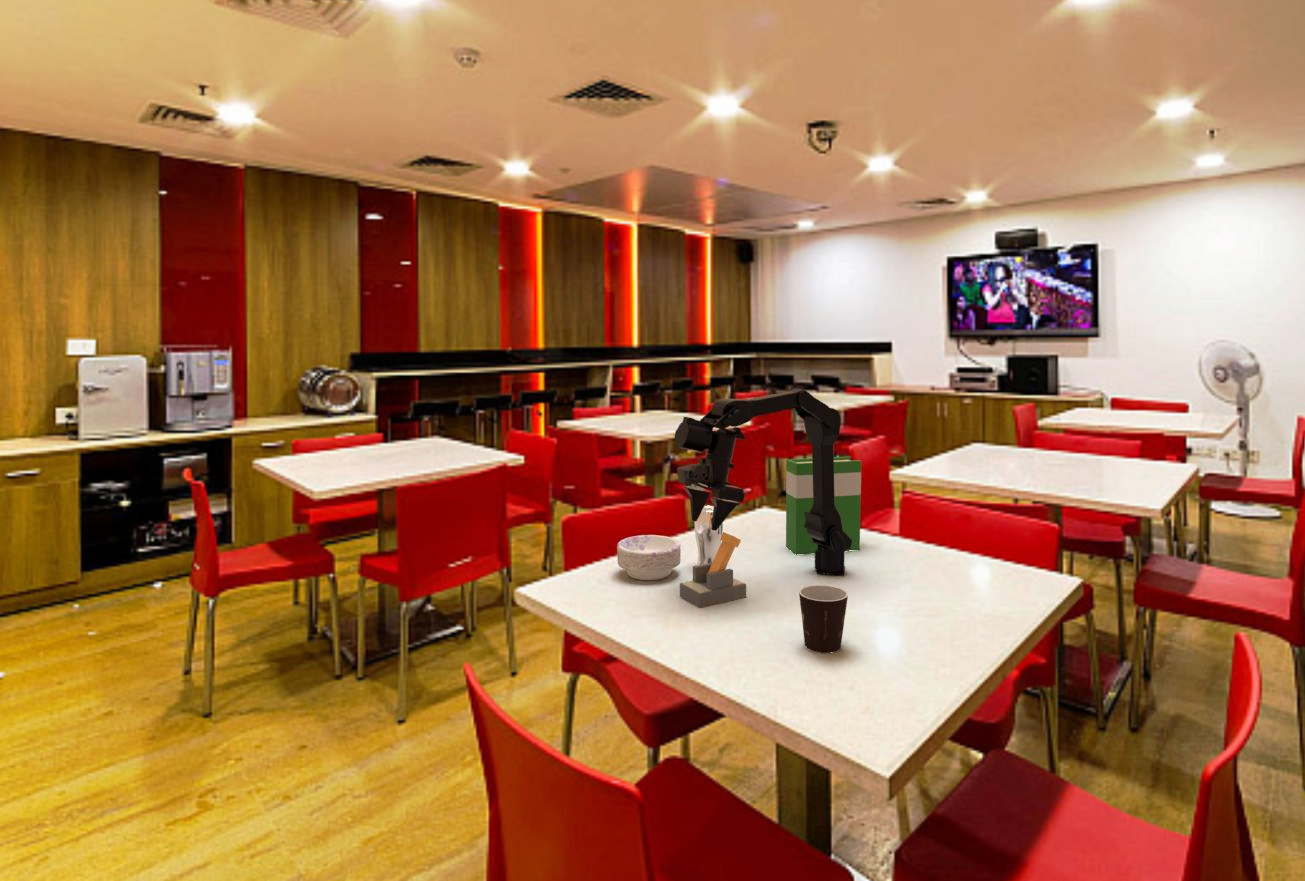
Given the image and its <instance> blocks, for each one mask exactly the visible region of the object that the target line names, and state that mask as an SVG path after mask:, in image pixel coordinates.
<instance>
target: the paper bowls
mask: <svg viewBox="0 0 1305 881" xmlns="http://www.w3.org/2000/svg"><path fill="white" fill-rule="evenodd" d="M616 550H617V551H616V552H617V557H616V558H617V565H618V566H619V567H620V568H621V569H624V570H625V571H626V573H627V575H628V576H629V577H631V578H632V579H635V580H640V581H656V580H657V581H658V580H661V579H665V578H667V577H668V576H670V574H671V573H672V571H673V569H674V568H677V567H678V566H679V565H680V564H681V560H682V559H681V550H682V549H681V543H680V541H679V540H678V539H676V538H673V537H670V536H666V535H656V534H646V535H645V534H641V535H635V536H629V537H626V538H624V539H621V540H620V541H619V542H618V543H617V545H616Z"/></svg>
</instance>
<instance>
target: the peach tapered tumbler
mask: <svg viewBox="0 0 1305 881" xmlns="http://www.w3.org/2000/svg"><path fill="white" fill-rule="evenodd" d="M713 509H714V505H705V506H704V508H703V510H702V512H701V514H700V516H699V518H698V519H697V521H694V535H695V541H696V547H697V554H698V557H697V561H696V562H697V564H696V566H698V565H703V564H708V563H713V560H714V558H715V556H716V554H717V551H718V549H719V547H720V545H721V542H722V540H720V538H721V536H722V534H723V532H724V522H723V523H722V524H721V525H720V526H719V528H718V529H717V530H716V531H715V530H712V529H711V527H712V517H713Z"/></svg>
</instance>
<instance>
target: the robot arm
mask: <svg viewBox="0 0 1305 881" xmlns="http://www.w3.org/2000/svg"><path fill="white" fill-rule="evenodd" d="M788 410H793V411H794V412H795V414H796V415H797V416H798V417H799V418H800V419H801V420H803V423H804V431H805V434H806V436H807V438H808V439H809V442H810V444H811V452H812V453H811V454H812V456H811V457H812V463H813V506H812V508H811V510H810V512H805V514H804V515H805V526H804V528H806V529H807V533H808V534H809V535H810V536H811V539H812V542H813V543H815V544H818V547H817V550H815V554H814V569H815V570H816V574H817V575H829V576H830V575H832V576H845V573H846V572H845V571H846V566H845V555H846V552H845V550H848V549H850V548H851V544H852V540H851V539H850V538H849V537H848V536H847V534H846V533H845V532H844V531H843V527H842V521H841V517H840V515H839V513H838V511H837V509H836V507H835V496H834V457H835V453H834V452H835V451H834V450H835V449H834V445H835V443H836V441H837V439H838V437H839V436H840V432H841V423H842V418H841V417H842V416H841V413H840V412H839V411H838V410H837V409H836V408H834V407H833V408H832V407H830V406H829V405H828V404H826V403H824V402H823V401H821V400H819V399H818V398H816V397H814V396H813V395H812V394H811V393H810V392H808V391H807V390H805V389H798V388H795V389H793V388H792V389H790V390H788V391H783V392H778V393H773V394H768V395H763V396H757V397H752V398H719V399H716V400H715V401H714V402H713V405H712V406H711V409H710V410H709V411H708V412H707V413H706V414H705V415H704V416H703V417H702V418H700V420H698V419H695V418H693V417H688V416H683V418H682V422H680V424H678V427H677V429H676V430H675V433H674V443H675V446H676V448H679V449H684V450H688V451H694V452H697V453H699V452H700V453H703V452H705V456H701V457H700V458H699V462H698V463H693V464H687V465H682V466H679V467H677V468H676V469H677V472H676V473H677V478H678V483H680V485H683V487H682V488H683V489H684V490H685V491H686V494H688V496H689V503H690V505H689V506H690V514H691V522H695V521H697V519H698V518H699V516H700V514H701V512H702V510H703V508H704V506H706V504H707V501H708V499H709V498H710V501H711V502H712V504H713V505H712V506H714V509H713V517H712V527H711V529H712V530H715V531H716V530H717V529H718V528H719V526H720V525H721V524H722V523H723V524H724V521H725V520H726V519H727V518H728V516H729V515H730V514H731V513H732V512H733V511H734V509H735V508H737V506H740V503H744V501H745V496H746V492H745V491H744V489H743V488H741V487H738V486H734V485H731V482H730V481H728V476H729V472H730V469H734V468H735V463H732V459H733V455H734V451H735V445H736V441H737V439H738V440H743V441H744V440H745V439H746V436H745V434H744V433H743V432H742V430H741V428H740V427H739V426H742V425H744V424H747V423H749V422H750V421H752V420H754V418H757V417H759V416H763V415H769V414H774V413H779V412H784V411H788ZM729 427H733V428H732V429H730V428H729ZM714 428H715V429H717V430H716V431H715V430H714ZM710 495H711V496H710Z"/></svg>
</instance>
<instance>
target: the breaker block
mask: <svg viewBox="0 0 1305 881" xmlns="http://www.w3.org/2000/svg"><path fill="white" fill-rule="evenodd" d="M711 565H712V563H708V564H703V565H698V566H697V565H693V566H692V580H690V581H686V582H680V583H679V597H680V598H681V599H683V600H685V601H687V602H689V603H690V604H692V605H694V606H696V607H697V608H698V609H701V608H705V607H710V606H714V605H718V604H723V603H727V602H731V601H735V600H741V599H745V598H747V583H745V582H743V581H740V580H738V579H736V578H734V570H733V569H732V568H727V569H725V570H720V571H715V572H710V573H708V572H709V569H710V567H711Z"/></svg>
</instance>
